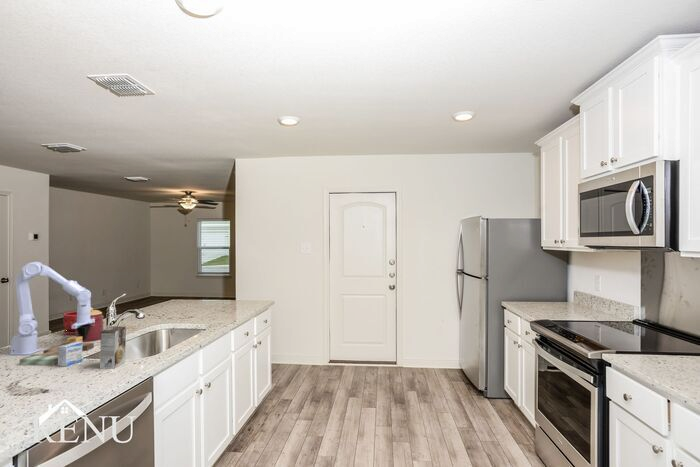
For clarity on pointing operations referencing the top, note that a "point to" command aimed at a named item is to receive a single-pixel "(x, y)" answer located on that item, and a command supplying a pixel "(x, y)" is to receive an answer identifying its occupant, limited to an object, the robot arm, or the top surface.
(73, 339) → the block
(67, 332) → the plant pot
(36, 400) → the top surface
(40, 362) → the wooden slab structure
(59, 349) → the medicine box
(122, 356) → the coffee box
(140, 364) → the top surface
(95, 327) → the canister
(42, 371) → the top surface
